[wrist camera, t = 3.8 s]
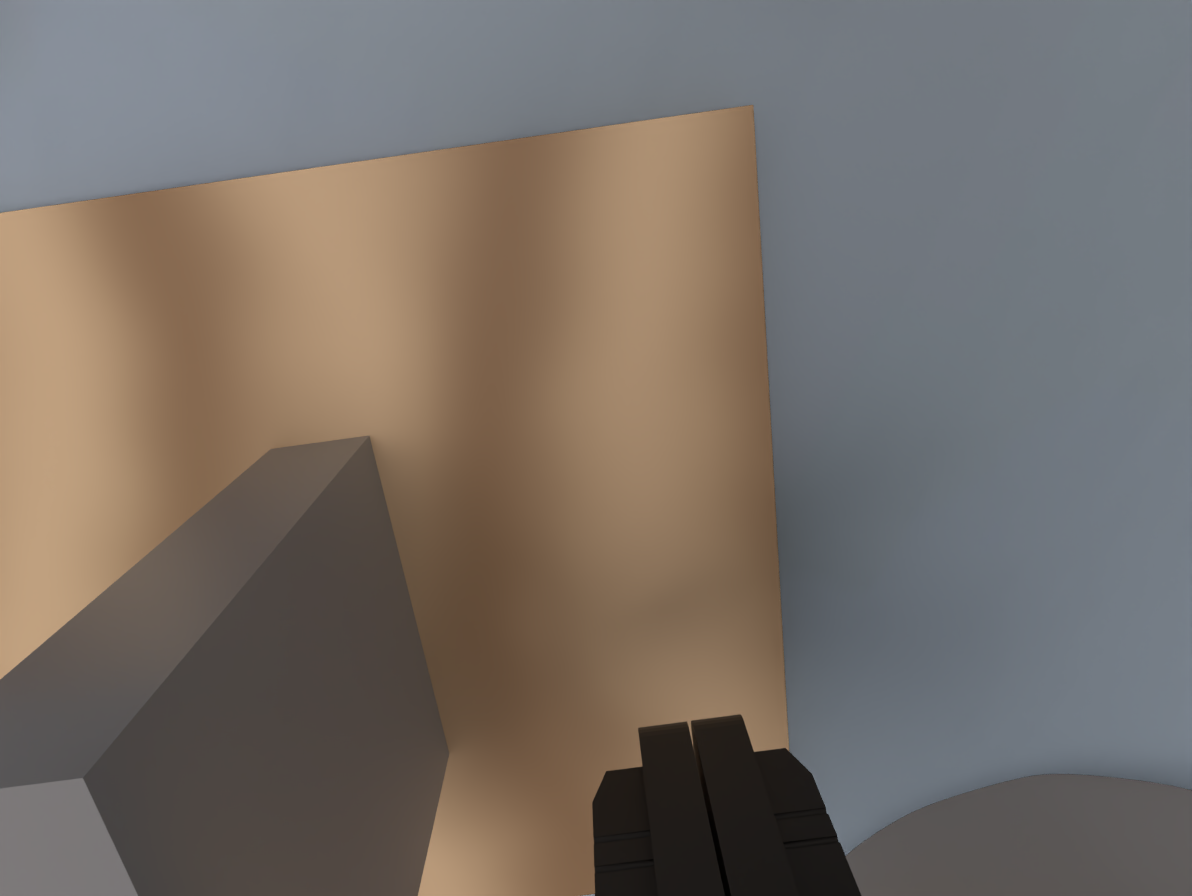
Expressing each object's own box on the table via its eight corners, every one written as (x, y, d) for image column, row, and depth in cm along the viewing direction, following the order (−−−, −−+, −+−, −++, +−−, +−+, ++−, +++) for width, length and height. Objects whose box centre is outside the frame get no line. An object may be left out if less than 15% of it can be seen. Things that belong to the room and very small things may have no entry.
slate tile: (369, 435, 15) (83, 777, 6) (449, 753, 17) (328, 1301, 9) (258, 450, 15) (-179, 812, 6) (355, 765, 17) (144, 1320, 9)
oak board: (741, 110, 14) (784, 90, 11) (785, 836, 20) (820, 945, 17) (-492, 287, 14) (-758, 311, 11) (-82, 944, 20) (-189, 1067, 17)
